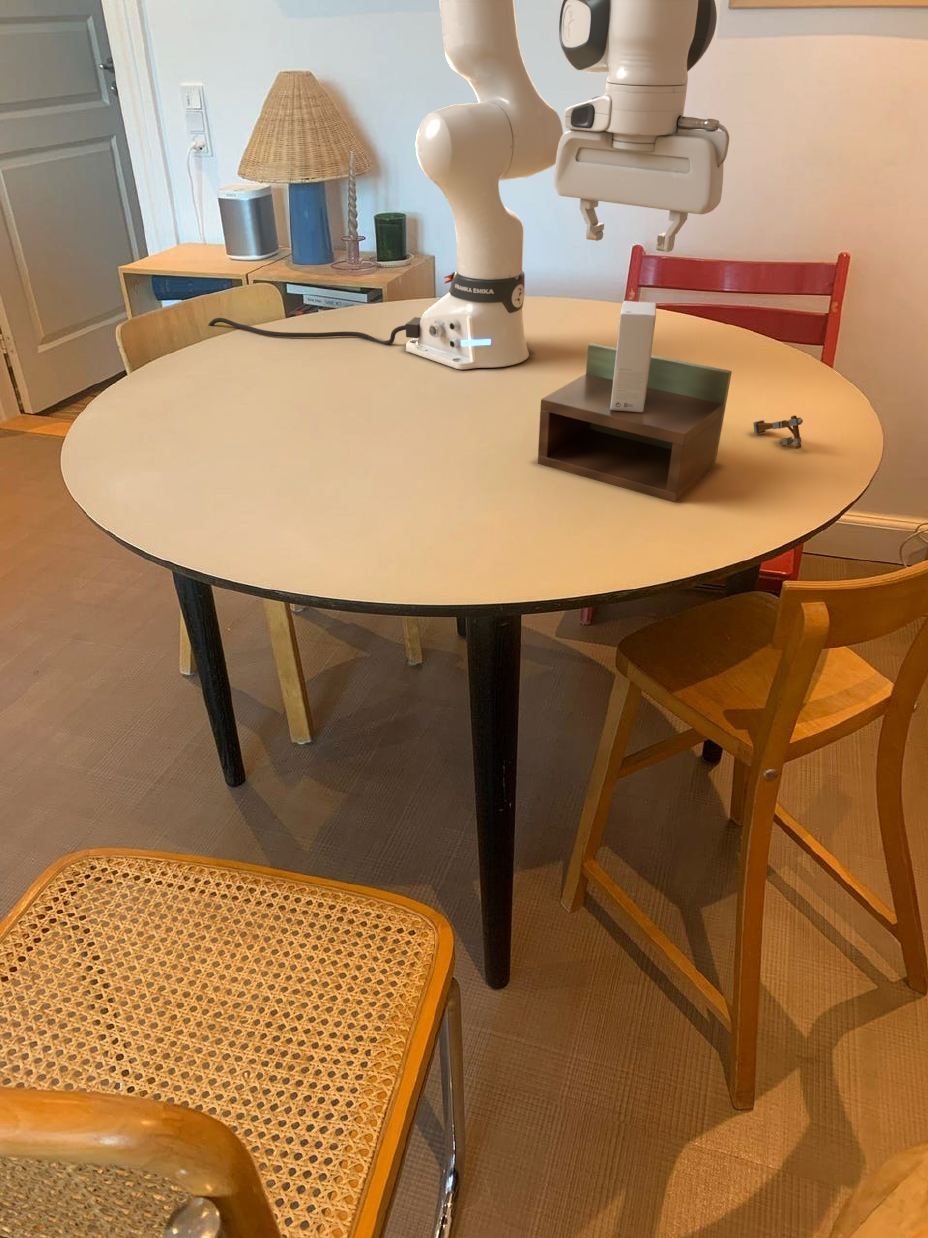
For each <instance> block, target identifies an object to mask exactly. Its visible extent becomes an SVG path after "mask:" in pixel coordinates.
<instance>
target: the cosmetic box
mask: <svg viewBox="0 0 928 1238" xmlns="http://www.w3.org/2000/svg"><path fill="white" fill-rule="evenodd" d="M656 318H657V303H656V302H649V301H633V300H623V302H622V305H621V309H620V316H619V321H618V322H619V323H618V333H617V341H616V342H617V343H616V348H617V351H616V360H615V370H614V379H613V388H612V398H611V407H610V409H611V410H615V411H630V412H643V411H644V404H645V397H646V390H647V382H648V375H649V368H650V360H651V355H652V350H653V344H654V335H655V328H656Z"/></svg>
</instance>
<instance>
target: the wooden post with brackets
mask: <svg viewBox="0 0 928 1238" xmlns="http://www.w3.org/2000/svg"><path fill="white" fill-rule="evenodd" d="M752 422H753V432H754V436H756V435H759V434H763V433H767V432H766V431H768V430H779V429H784V428H787V429H788V430H789V431H790V433H791V434H792V435H793V437H792V436H788V437H783V438H780V440H779V444H780V446H791V445H794V447H795V449H797V450H798V449H802V448H803V446H802V437H801V435H800V427H799V426H800V425H802V424H803V423H804V420H803V418H801V417H798V416H797V415H791V416H790V418H789V419H788V420H787V419H784V420H780V421H774V422H765V420H764V419H761V420H757V421H752Z"/></svg>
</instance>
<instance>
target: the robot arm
mask: <svg viewBox="0 0 928 1238" xmlns="http://www.w3.org/2000/svg"><path fill="white" fill-rule="evenodd" d="M438 5H439V7H438V8H439V16H440V22H441V32H442V39H443V48H444V55H445V58H446V61H447V63H448V64H449V67H450V68H451V69H452V70H453V71H454V72H455V73H457V74H459V75H460V76H461V77H462V78H464V79H465V80H466V81H467V82H468V84H469V85H470V86H471V88H472V89H473V91H474V94H475V95H476V99H477V101H478V102H475V103H474V102H472V103H455V104H452V105H448V106H445V107H442V108H439V109H437V110H434V111H431V112H429V113H427V114H426V115H425V116H424V117H423V118H422V120H421V122H420V124H419V127H418V130H417V133H416V140H415V149H416V150H415V152H416V158H417V160H418V164H419V166H420V168H421V170H422V172H423V173H424V175H425V176H426V177H427V178H428V179H429V180H430V181H431V182H433V184H435V185H436V186H437V187H438V188H439V190H440V191H441V192H442V194H443V196H444V197H445V199H446V200H447V203H448V205H449V207H450V210H451V214H452V216H453V221H454V227H455V239H456V240H455V241H456V268H457V270H455V271H453V272H451V274H449V275H445V276H444V277H443V278H444V279H446V280H445V281H443V284H448V283H450V286H449V289H448V292H447V293H446V294H445V295H444V296H443V297H441V298H440V299H439V300H437V302H436V303H434V304H433V305H432V306H430V307H429V308H428V309H427V310H425V311H424V313H422V315H421V317H419V316H414V317H412V318H411V319H410V320H408V322H406V323H405V324H404V325H400V326H397V327H395V328H394V329H392V331H391V333H390V338H389V339H388V340H379V339H377V338H375V337H373V336H371V335H369V334H367V333H365V332H359V331H328V332H327V331H326V332H286V331H285V332H284V331H272V330H266V329H261V328H257V327H255V326H250V325H247V324H242V323H238V322H235V321H233V320H230V319H227V318H224V317H216V318H213V319H211V321H209V323H208V324H207V326H208V327H213V326H215V325H216V324H218V323H222V324H226V325H229V326H231V327H234V328H237V329H240V330H246V331H250V332H253V333H256V334H260V335H264V336H269V337H279V338H331V337H332V338H333V337H357V338H362V339H365V340H368V341H370V342H373V343H377V344H380V345H384V346H390V345H392V344H393V343H394V342H395V340H396V335H397V334H398V333H399V332H401V331H405V337H406V338H409V341H408V342H407V343H406V345H405V351H406V352H408V353H410V354H413V355H416V356H419V357H422V358H425V359H428V360H431V361H433V362H435V363H439V364H442V365H445V366H447V367H451V368H453V369H455V370H470V369H478V368H487V369H488V368H503V367H509V366H514V365H517V364H520V363H522V362H525V361H526V360H527V359H528V358H529V356H530V354H529V349H528V346H527V341H526V340H527V339H526V334H525V327H524V317H523V315H524V313H523V307H524V302H525V285H526V284H525V283H526V279H525V278H526V276H525V271H523V262H524V261H523V260H524V237H525V236H524V233H525V231H524V230H525V228H524V225H523V221H522V220H521V218H520V217H519V216H518V215H517V214H516V213H515V212H514V211H513V210H511V209H510V208H509V207H506V206H505V205H504V202H503V200H502V197H501V193H500V182H501V181H512V180H519V179H528V178H531V177H533V176H535V175H538V174H540V173H543V172H546V171H548V170H550V169H551V168H553V167H554V172H553V173H554V174H553V185H554V188H555V190H556V192H557V194H558V195H559V196H560V197H566V198H567V197H568V198H574V199H580V200H579V211H580V212H581V215H582V218H583V220H584V222H585V224H586V232H585V238H586V240H589V241H596V242H598V241H601V240H602V239H603V237H604V232H603V231H604V230H605V223H603V222H599V219H598V216H597V213H596V210H595V208H597V207H599V202H604V203H611V204H620V205H626V206H635V207H641V208H649V209H655V210H656V209H657V210H664V211H669V215H668V221H670V222H672V223H671V224H670V226H669V227H668V228H667V230H666V232H662V233H660V234H658V235H657V238H656V242H657V244H656V245H655V249H656V251H658V252H664V253H670V252H672V251H673V250H674V247H675V240H676V235H677V234H678V233H679V231H680V230H681V228H682V227H683V226H684V224H685V223H686V222H687V220H688V216H689V214H694V215H705V214H709V213H711V212H713V211H714V210H715V209H716V208H717V207H718V206H719V205H720V203H721V200H722V196H723V195H722V194H723V186H724V162H725V160H726V159H727V156H728V150H729V145H730V134H729V131H728V129H727V128H726V127H725V126H724V125H723V124H721V123H720V120H718V119H715V118H707V119H706V118H705V119H704V118H698V117H693V116H684V115H685V107H686V99H687V92H688V84H689V73H688V72H689V71H690V70H691V69H693V68H694V66H695V65H696V64H697V63H699V61H700V60H701V59H702V58H703V56H704V54H705V53H706V52H707V50H708V48H709V47H710V44H711V43H712V40H713V38H714V35H715V33H716V27H717V17H718V13H717V5H716V1H715V0H563V1H562V3H561V7H560V8H561V9H560V13H559V23H558V38H559V43H560V44H559V45H560V48H561V50H562V52H563V55H564V56H565V58H566V60H567V61H568V63H570V65H571V66H572V67H573V68H574V69H575V70H577V71H581V72H585V73H589V74H608V75H607V78H606V82H605V93H604V94H603V95H599V96H594V97H591V99H589V100H585V101H582V102H579V103H577V104H573V105H570V106H568V107H566V108H565V109H564V111H563V121H562V120H561V118H560V115H559V114H558V112H557V111H556V110H555V108H554V107H553V106H551V104H549V103H548V102H547V101H546V100H545V99H544V98H543V97H542V95H541V94H540V93H539V90H538V89H537V87H536V86H535V84H534V82H533V80H532V78H531V76H530V73H529V72H528V70H527V66H526V64H525V61H524V58H523V54H522V50H521V47H520V41H519V33H518V26H517V16H516V9H515V8H516V7H515V0H438ZM562 122H563V123H562ZM563 126H564V127H563ZM564 128H566V129H567V130H565V131H564ZM719 130H721V131H719Z"/></svg>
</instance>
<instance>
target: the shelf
mask: <svg viewBox="0 0 928 1238" xmlns="http://www.w3.org/2000/svg"><path fill="white" fill-rule="evenodd" d="M616 351H617V347H613V346H608V345H603V344H599V343H598V344H597V343H594V342H590V343H589V344H588V345H587V355H586V366H585V369H586V370H585V373H584V374H583V375H581V376H580V377H578V378H576V379H574V380H572V381H571V382H569V383H566V384H565V385H564V386H562V387H560V388H557V389H556V390H555V391H553V392H551V393H549V394H548V395H546V396H544V397H543V398H541V399H540V409H539V410H540V411H539V431H538V449H537V450H538V451H537V464H538V465H543V466H546V467H549V468H553V469H557V470H559V471H563V472H567V473H570V474H574V475H578V476H581V477H585V478H588V479H592V480H596V481H599V482H603V483H606V484H610V485H613V486H617V487H620V488H624V489H627V490H630V491H635V492H638V493H642V494H644V495H648V496H652V497H655V498H659V499H663V500H665V501H670V502H673V503H676V502H677V501H678V500H679V499H680V498H682V497H683V496H684V495H685V494H686V493H687V492H688V491H689V490H690V489H691V488H692V487H693V486H695V485H696V484H697V483H699V481H701V479H703V478H704V477H705V476H706V475H707V474H708V473H709V472H711V470H713V469H714V468H715V466H716V464H717V457H718V452H719V445H720V440H721V435H722V430H723V423H724V418H725V413H726V406H727V402H728V396H729V389H730V384H731V379H732V372H733V371H732V370H729V369H724V368H719V367H715V366H709V365H703V364H699V363H693V362H689V361H683V360H678V359H673V358H668V357H663V356H659V355H653V354H651V360H650V368H649V375H648V382H647V390H646V397H645V404H644V411H643V412H630V411H615V410H611V409H610V407H611V398H612V388H613V379H614V370H615V360H616Z"/></svg>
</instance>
